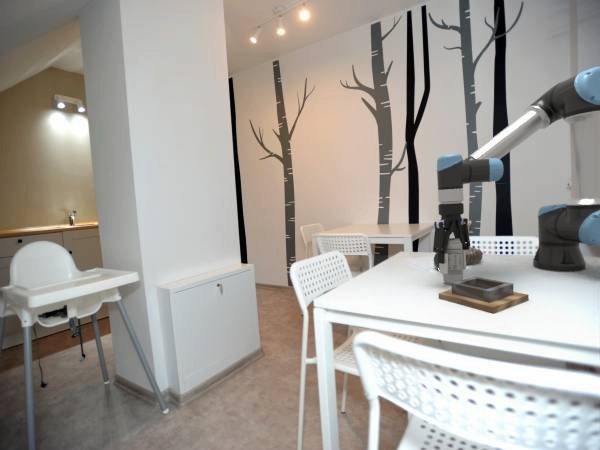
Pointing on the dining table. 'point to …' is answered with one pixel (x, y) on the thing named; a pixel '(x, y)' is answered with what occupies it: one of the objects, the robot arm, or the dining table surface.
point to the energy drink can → (454, 261)
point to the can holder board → (484, 294)
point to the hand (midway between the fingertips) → (452, 270)
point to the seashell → (473, 255)
